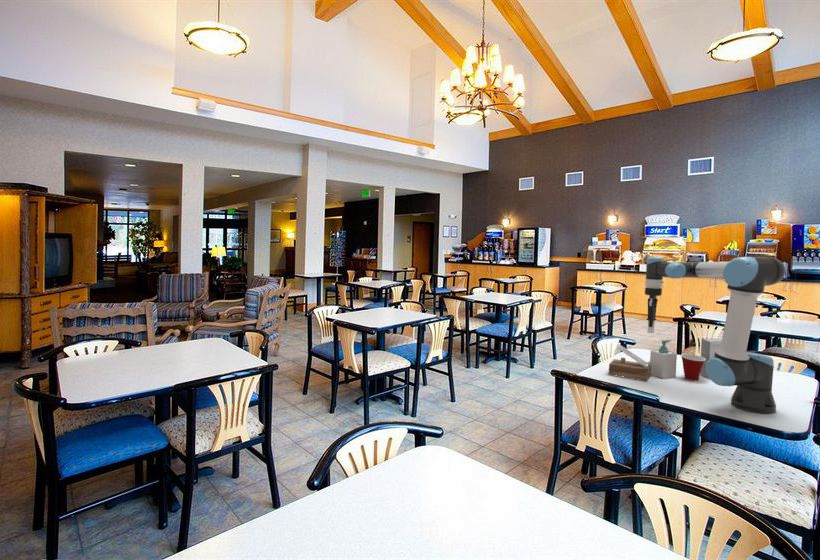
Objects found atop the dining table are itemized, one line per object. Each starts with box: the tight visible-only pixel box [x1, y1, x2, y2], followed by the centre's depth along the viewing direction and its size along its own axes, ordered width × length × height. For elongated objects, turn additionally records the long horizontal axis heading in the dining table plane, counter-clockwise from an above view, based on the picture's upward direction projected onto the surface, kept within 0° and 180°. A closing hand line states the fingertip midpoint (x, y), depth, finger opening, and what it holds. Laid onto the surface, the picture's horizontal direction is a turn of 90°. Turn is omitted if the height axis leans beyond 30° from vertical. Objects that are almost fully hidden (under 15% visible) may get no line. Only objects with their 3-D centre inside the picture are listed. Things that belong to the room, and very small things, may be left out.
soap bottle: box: [649, 339, 678, 379], centre depth 229 cm, size 9×9×19 cm
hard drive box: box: [699, 338, 722, 380], centre depth 226 cm, size 16×8×20 cm, turn 84°
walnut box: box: [608, 357, 652, 382], centre depth 230 cm, size 12×18×9 cm
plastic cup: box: [680, 353, 706, 381], centre depth 223 cm, size 11×11×12 cm
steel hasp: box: [617, 344, 649, 366], centre depth 229 cm, size 6×17×1 cm
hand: (650, 332), depth 224 cm, fingers closed
